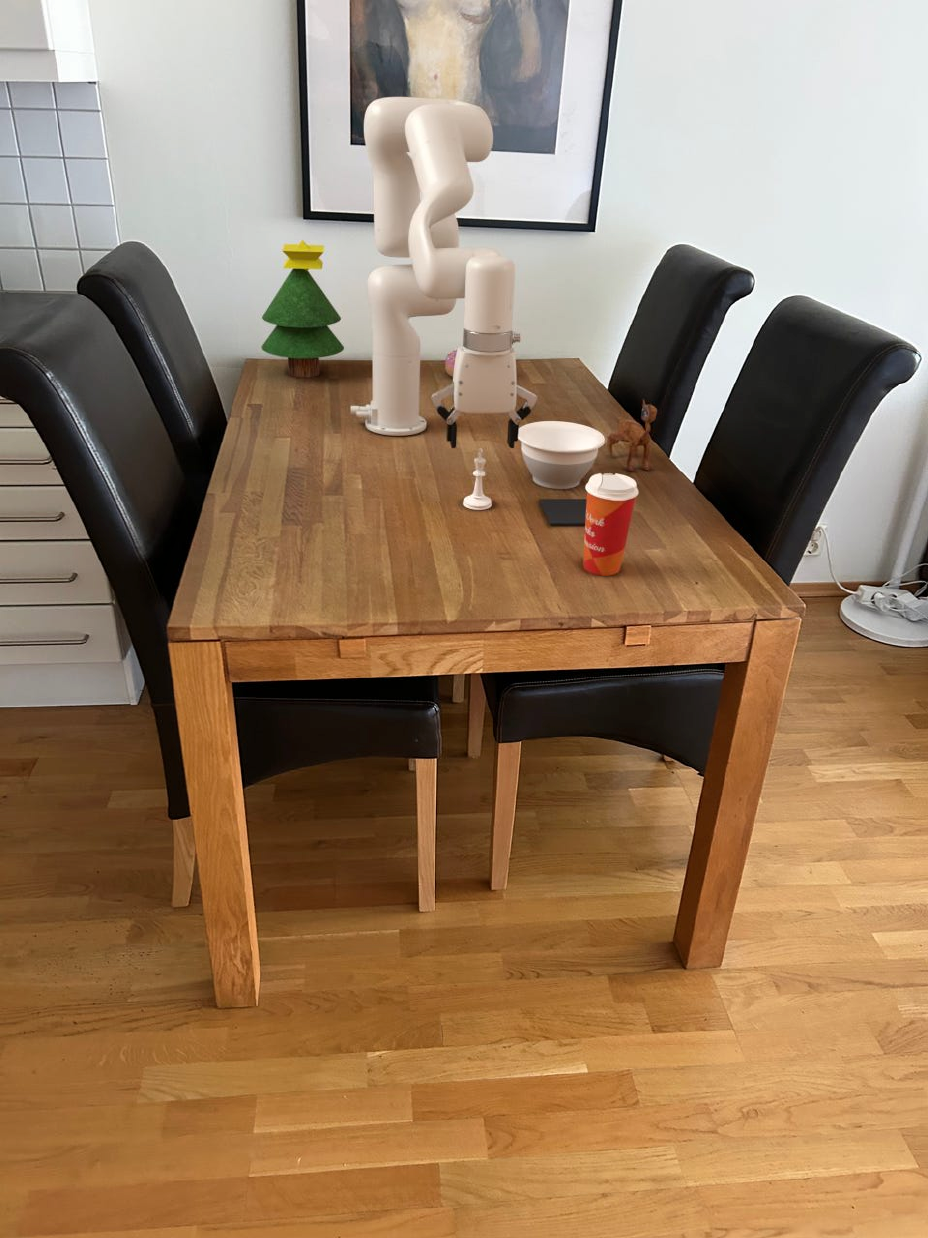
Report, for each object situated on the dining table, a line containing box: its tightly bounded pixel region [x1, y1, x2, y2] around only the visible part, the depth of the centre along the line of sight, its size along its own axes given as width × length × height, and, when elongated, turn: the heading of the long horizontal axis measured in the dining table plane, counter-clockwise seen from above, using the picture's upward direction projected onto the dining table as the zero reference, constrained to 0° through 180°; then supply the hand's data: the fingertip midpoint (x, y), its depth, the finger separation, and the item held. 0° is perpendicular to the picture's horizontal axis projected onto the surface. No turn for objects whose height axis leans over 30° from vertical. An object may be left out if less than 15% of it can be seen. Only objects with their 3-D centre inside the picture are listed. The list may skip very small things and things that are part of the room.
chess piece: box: [462, 447, 493, 511], centre depth 158 cm, size 5×5×10 cm
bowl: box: [518, 420, 606, 490], centre depth 170 cm, size 16×16×9 cm
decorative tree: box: [261, 239, 345, 378], centre depth 216 cm, size 19×19×30 cm
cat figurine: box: [606, 398, 658, 472], centre depth 180 cm, size 18×7×14 cm, turn 15°
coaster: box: [539, 498, 587, 527], centre depth 159 cm, size 10×10×1 cm
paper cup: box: [582, 472, 639, 577], centre depth 138 cm, size 8×8×14 cm
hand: (481, 445), depth 155 cm, fingers open, 9 cm apart
